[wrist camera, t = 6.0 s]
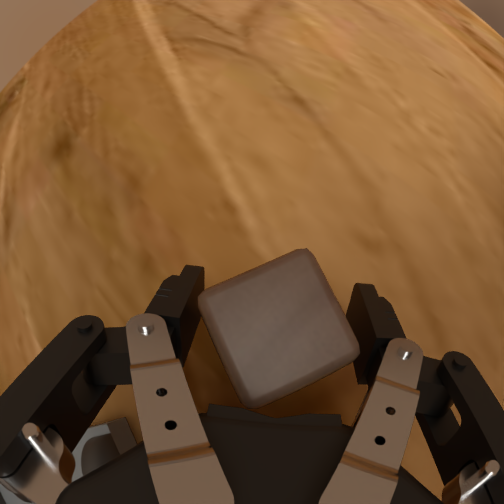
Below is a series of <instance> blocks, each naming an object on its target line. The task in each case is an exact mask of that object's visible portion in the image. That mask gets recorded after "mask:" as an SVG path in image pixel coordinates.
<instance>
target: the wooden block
mask: <svg viewBox="0 0 504 504" xmlns="http://www.w3.org/2000/svg"><path fill="white" fill-rule="evenodd" d="M198 308H199V311H200V313H201V316H202V318H203V320H204V323H205V325H206V327H207V330H208V332H209V334H210V337H211V339H212V341H213V343H214V346H215V348H216V350H217V352H218V355H219V357H220V359H221V361H222V364H223V366H224V368H225V370H226V372H227V375H228V377H229V379H230V381H231V383H232V385H233V387H234V390H235V392H236V394H237V396H238V398H239V400H240V402H241V403H242V404H243V405H244V406H245V407H247V408H248V409H258V408H261V407H263V406H265V405H268V404H270V403H272V402H274V401H277V400H279V399H281V398H283V397H285V396H287V395H290V394H292V393H294V392H296V391H298V390H300V389H302V388H304V387H306V386H308V385H310V384H312V383H314V382H316V381H318V380H320V379H322V378H324V377H326V376H328V375H330V374H332V373H333V372H335V371H337V370H339V369H341V368H343V367H345V366H346V365H348V364H350V363H352V362H354V360H355V359H356V358H357V357H358V356H359V354H360V349H359V343H358V341H357V339H356V337H355V335H354V333H353V330H352V328H351V326H350V324H349V322H348V320H347V318H346V316H345V314H344V312H343V310H342V308H341V306H340V304H339V302H338V301H337V299H336V297H335V295H334V293H333V291H332V289H331V287H330V285H329V283H328V281H327V279H326V277H325V275H324V273H323V271H322V270H321V268H320V266H319V264H318V262H317V260H316V258H315V256H314V255H313V254H312V253H311V252H310V251H309V250H308V249H307V248H306V249H296V250H294V251H292V252H290V253H287V254H285V255H283V256H281V257H278V258H276V259H274V260H271V261H269V262H267V263H265V264H262V265H260V266H258V267H256V268H253V269H251V270H249V271H246V272H244V273H242V274H240V275H237V276H235V277H233V278H230V279H228V280H226V281H224V282H221V283H219V284H217V285H214V286H212V287H210V288H207V289H205V290H204V291H203V292H202V293H201V294H200V295H199V296H198Z"/></svg>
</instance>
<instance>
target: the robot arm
mask: <svg viewBox="0 0 504 504" xmlns="http://www.w3.org/2000/svg"><path fill="white" fill-rule="evenodd" d="M203 291H204V267H201V266H192V265H185V267H184V269H183V270H182V272H181V274H180V276H177V275H171V276H170V277H168V278H167V279H165V280H164V281H163V283H162V284H161V286H160V288H159V289H158V291H157V292H156V295H155V296H154V297H153V299H152V301H151V302H150V304H149V306H148V307H147V309H146V311H145V313H144V314H139V315H136V316H134V317H132V318H131V319H130V320H129V321H128V322H127V324H126V326H125V327H113V328H104V324H103V321H102V320H101V319H100V318H98V317H96V316H92V315H85V316H80V317H77V318H75V319H74V320H72V321H71V322H70V323H69V324H68V325H67V326H66V327H65V328H64V329H63V330H62V331H61V332H60V333H59V334H58V335H57V336H56V337H55V338H54V339H53V340H52V341H51V342H50V343H49V344H48V345H47V346H46V347H45V348H44V349H43V350H42V352H41V353H40V354H39V355H38V356H37V357H36V358H35V359H34V360H33V361H32V362H31V363H30V364H29V365H28V366H27V367H26V369H25V370H24V371H23V372H22V373H21V374H20V375H19V376H18V377H17V378H16V379H15V381H14V382H13V383H12V384H11V385H10V386H9V387H8V388H7V390H6V391H5V392H4V393H3V394H2V395H1V396H0V484H1V485H3V486H4V487H5V488H6V489H7V490H9V491H10V492H12V493H13V494H15V495H16V496H17V497H18V498H19V499H21V500H22V501H24V502H27V503H34V504H504V410H503V409H502V407H501V405H500V404H499V402H498V400H497V399H496V397H495V396H494V394H493V392H492V391H491V389H490V388H489V386H488V385H487V383H486V382H485V380H484V379H483V377H482V375H481V374H480V372H479V371H478V369H477V368H476V367H475V365H474V364H473V362H472V361H471V359H470V358H469V357H467V356H466V355H464V354H462V353H460V352H456V351H451V352H447V353H446V354H445V355H444V356H443V358H442V360H437V359H432V358H428V357H425V356H423V351H422V349H421V348H420V347H419V345H417V344H416V343H415V342H413V341H411V340H409V339H407V338H406V336H405V334H404V332H403V329H402V327H401V325H400V322H399V320H398V318H397V316H396V314H395V311H394V309H393V307H392V305H391V304H390V303H389V302H388V301H387V300H386V299H385V298H384V297H379V296H378V294H377V291H376V289H375V287H374V285H373V284H362V283H356V284H355V285H354V288H353V291H352V295H351V299H350V303H349V306H348V310H347V313H346V318H347V320H348V322H349V324H350V326H351V328H352V330H353V333H354V335H355V337H356V339H357V341H358V343H359V349H360V354H359V356H358V357H357V358H356V359H355V360H354V362H353V363H354V368H355V373H356V378H357V382H358V384H368V388H369V389H368V391H367V393H366V395H365V397H364V399H363V402H362V404H361V406H360V409H359V411H358V413H357V415H356V417H355V420H354V422H353V424H352V426H348V425H344V424H342V422H341V414H304V415H298V416H291V417H284V418H272V417H269V416H265V415H262V414H259V413H256V412H252V411H249V410H246V409H243V408H237V407H229V406H221V405H214V404H209V407H208V412H207V413H199V414H198V413H197V410H196V407H195V404H194V401H193V399H192V396H191V393H190V390H189V387H188V384H187V381H186V378H185V375H184V372H183V369H182V367H184V364H185V361H186V358H187V355H188V352H189V349H190V347H191V344H192V341H193V338H194V335H195V332H196V329H197V327H198V324H199V321H200V318H201V313H200V311H199V308H198V296H199V295H200V294H201V293H202V292H203ZM126 384H133V390H134V395H135V401H136V406H137V411H138V417H139V421H140V426H141V431H142V436H143V440H144V441H142V442H141V443H139V444H138V445H136V446H134V447H133V448H131V449H129V450H128V451H126V452H124V453H123V454H121V455H119V456H118V457H116V458H114V459H113V460H111V461H109V462H107V463H106V464H104V465H102V466H100V467H99V468H97V469H95V470H93V471H91V472H90V473H88V474H86V475H84V476H82V477H80V478H79V479H77V480H75V481H73V482H72V476H73V473H74V470H75V466H76V462H75V458H74V456H73V454H72V452H73V451H74V449H75V448H76V446H77V444H78V443H79V441H80V440H81V438H82V437H83V435H84V434H85V432H86V431H87V429H88V428H89V426H90V425H91V423H92V422H93V420H94V419H95V417H96V416H97V414H98V413H99V411H100V410H101V408H102V407H103V405H104V404H105V402H106V401H107V399H108V398H109V396H110V395H111V393H112V392H113V390H114V389H115V387H116V386H117V385H126ZM453 403H454V404H455V406H456V408H457V410H458V411H459V413H460V415H461V426H459V424H458V422H457V420H456V418H455V416H454V414H453V412H452V410H451V406H452V405H453ZM414 416H416V418H417V420H418V423H419V425H420V427H421V430H422V432H423V434H424V437H425V439H426V441H427V444H428V446H429V449H430V451H431V454H432V456H433V458H434V461H435V463H436V466H437V468H438V471H439V474H440V476H441V479H442V481H443V484H444V488H443V491H442V501H440V500H439V499H438V498H437V497H436V496H435V495H433V494H432V493H431V492H430V491H429V490H428V489H427V488H425V487H424V486H423V485H422V484H421V483H420V482H419V481H418V480H416V479H415V478H414V477H413V476H412V475H411V474H410V473H409V472H408V471H406V470H405V469H404V468H403V467H402V466H401V465H400V464H401V461H402V458H403V455H404V451H405V448H406V445H407V441H408V438H409V435H410V431H411V427H412V424H413V420H414Z"/></svg>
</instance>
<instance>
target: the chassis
mask: <svg viewBox="0 0 504 504" xmlns="http://www.w3.org/2000/svg"><path fill="white" fill-rule="evenodd" d="M136 445H137V443H136V441H135V439H134V436H133V434H132V432H131V430H130V427H129V425H128V423H127V420H126V418H125V417H124V418H120V419H117V420H113V421H110V422H106V423H103V424H99V425H95V426H91V427H89V428H88V429H87V431H86V432H85V434H84V435H83V437H82V438H81V440H80V441H79V443H78V444H77V446H76V448H75V449H74V451H73V452H72V454H73V456H74V458H75V462H76V466H75V470H74V473H73V476H72V482H73V481H75V480H77V479H79V478H80V477H82V476H84V475H86V474H88V473H90V472H91V471H93V470H95V469H97V468H99V467H100V466H102V465H104V464H106V463H107V462H109V461H111V460H113V459H114V458H116V457H118V456H119V455H121V454H123V453H124V452H126V451H128V450H129V449H131V448H133V447H134V446H136ZM0 504H34V503H27V502H24V501H22V500H21V499H19V498H18V497H17V496H16V495H15V494H13V493H12V492H10V491H9V490H7V489H6V488H5V487H4V486H3V485H1V484H0Z"/></svg>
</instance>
